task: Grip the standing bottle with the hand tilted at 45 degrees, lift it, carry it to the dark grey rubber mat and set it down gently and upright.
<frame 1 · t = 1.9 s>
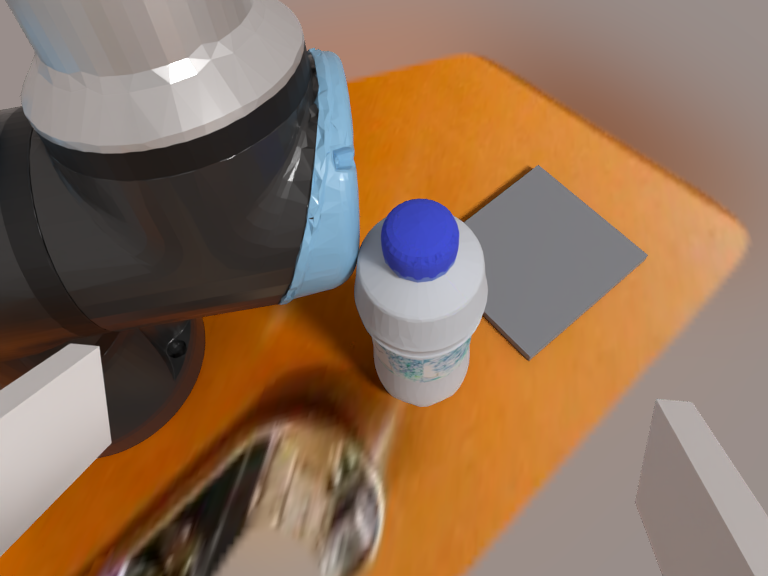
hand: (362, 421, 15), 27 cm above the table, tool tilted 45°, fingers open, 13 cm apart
mat: (533, 259, 47), on the table
bottle: (421, 368, 44), on the table
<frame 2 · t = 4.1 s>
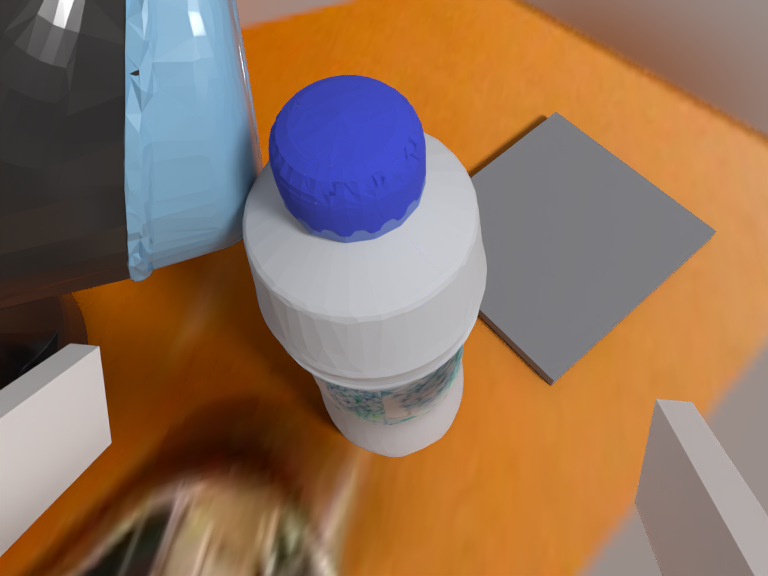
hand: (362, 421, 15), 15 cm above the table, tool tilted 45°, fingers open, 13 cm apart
mat: (552, 239, 33), on the table
bottle: (395, 399, 30), on the table
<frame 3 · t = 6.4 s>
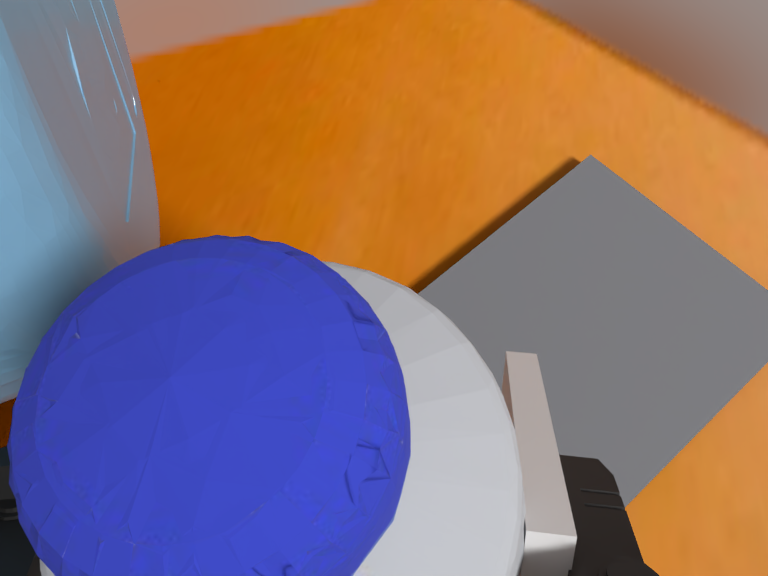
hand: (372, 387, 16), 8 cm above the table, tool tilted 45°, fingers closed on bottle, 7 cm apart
mat: (588, 326, 26), on the table
bottle: (381, 552, 23), on the table, touching gripper
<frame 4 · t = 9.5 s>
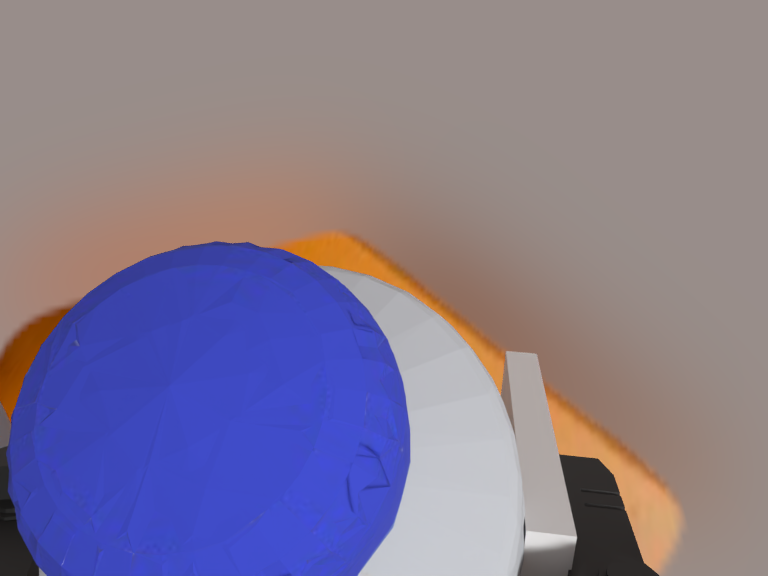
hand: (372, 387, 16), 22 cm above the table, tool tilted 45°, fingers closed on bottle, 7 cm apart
bottle: (380, 554, 23), point 14 cm above the table, touching gripper
when the fingers open (10 cm above the table, at t = 12.8 s): bottle stays where it is, resting on mat.
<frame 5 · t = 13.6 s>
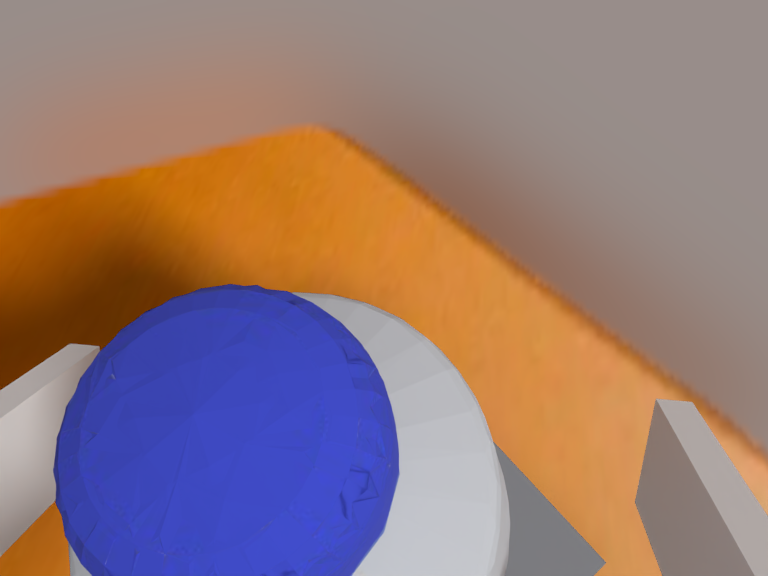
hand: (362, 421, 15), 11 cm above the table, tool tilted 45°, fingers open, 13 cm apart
mat: (384, 554, 24), on the table
bottle: (380, 556, 23), point 1 cm above the table, touching mat
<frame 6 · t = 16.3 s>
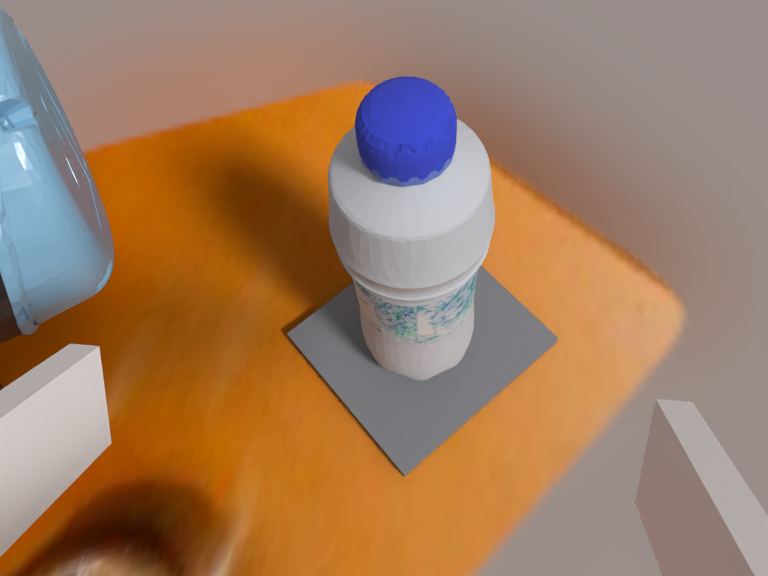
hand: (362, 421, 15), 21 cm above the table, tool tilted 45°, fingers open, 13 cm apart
mat: (420, 340, 38), on the table
bottle: (418, 338, 38), point 1 cm above the table, touching mat
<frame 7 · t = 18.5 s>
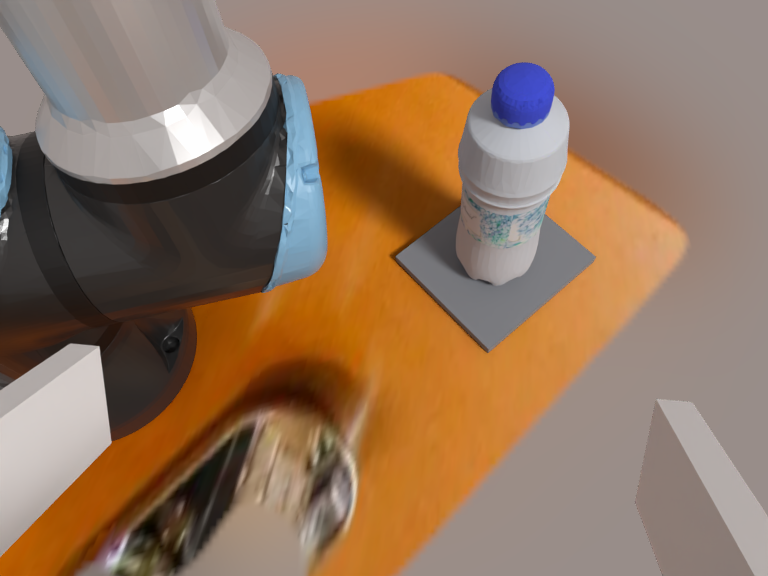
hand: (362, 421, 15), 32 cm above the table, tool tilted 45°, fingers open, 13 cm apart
mat: (493, 261, 52), on the table
bottle: (493, 259, 51), point 1 cm above the table, touching mat
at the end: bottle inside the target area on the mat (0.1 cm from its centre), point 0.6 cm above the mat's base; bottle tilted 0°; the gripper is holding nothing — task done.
